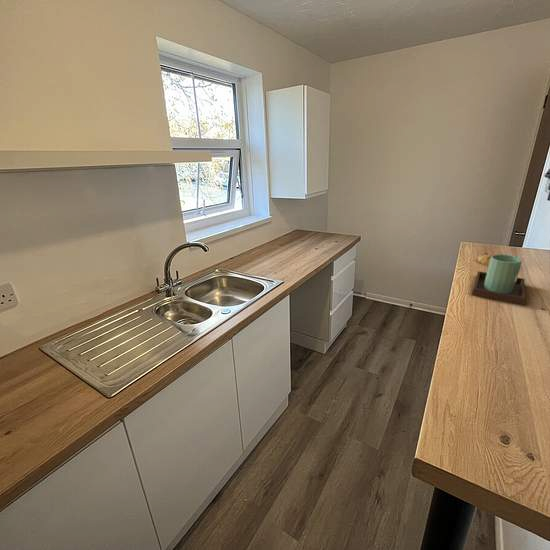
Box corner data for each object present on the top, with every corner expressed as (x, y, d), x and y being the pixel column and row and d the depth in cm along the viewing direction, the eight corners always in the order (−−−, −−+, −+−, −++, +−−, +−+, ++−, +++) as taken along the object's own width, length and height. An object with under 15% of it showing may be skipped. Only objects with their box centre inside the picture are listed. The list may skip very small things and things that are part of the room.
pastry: (507, 266, 121) (510, 258, 120) (495, 269, 120) (497, 260, 118) (486, 259, 130) (488, 251, 128) (474, 261, 128) (476, 253, 126)
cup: (505, 284, 105) (513, 254, 101) (518, 294, 98) (527, 263, 94) (479, 283, 107) (486, 254, 102) (490, 293, 99) (498, 262, 95)
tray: (476, 278, 113) (478, 271, 112) (522, 286, 105) (524, 278, 104) (471, 296, 100) (473, 288, 99) (523, 306, 92) (525, 298, 91)
